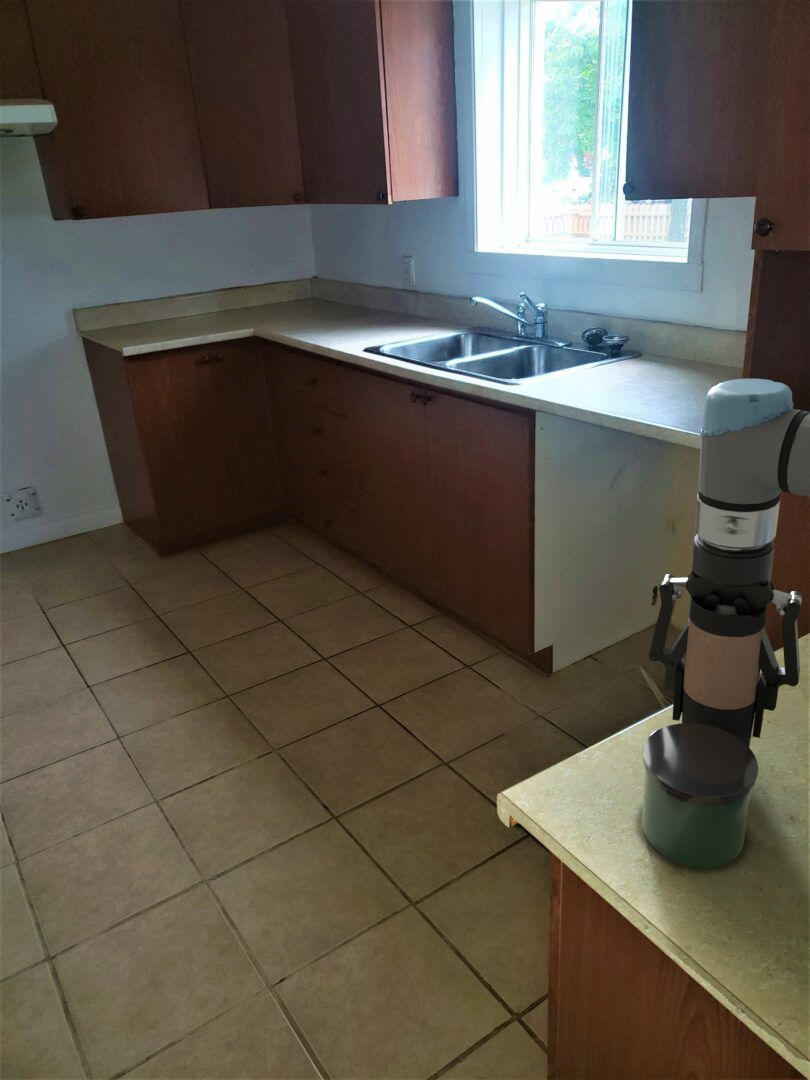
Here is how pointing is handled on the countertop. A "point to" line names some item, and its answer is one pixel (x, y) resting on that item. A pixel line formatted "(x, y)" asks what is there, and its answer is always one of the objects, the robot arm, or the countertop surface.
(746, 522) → the robot arm
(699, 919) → the countertop surface
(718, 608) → the travel mug
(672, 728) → the jar
